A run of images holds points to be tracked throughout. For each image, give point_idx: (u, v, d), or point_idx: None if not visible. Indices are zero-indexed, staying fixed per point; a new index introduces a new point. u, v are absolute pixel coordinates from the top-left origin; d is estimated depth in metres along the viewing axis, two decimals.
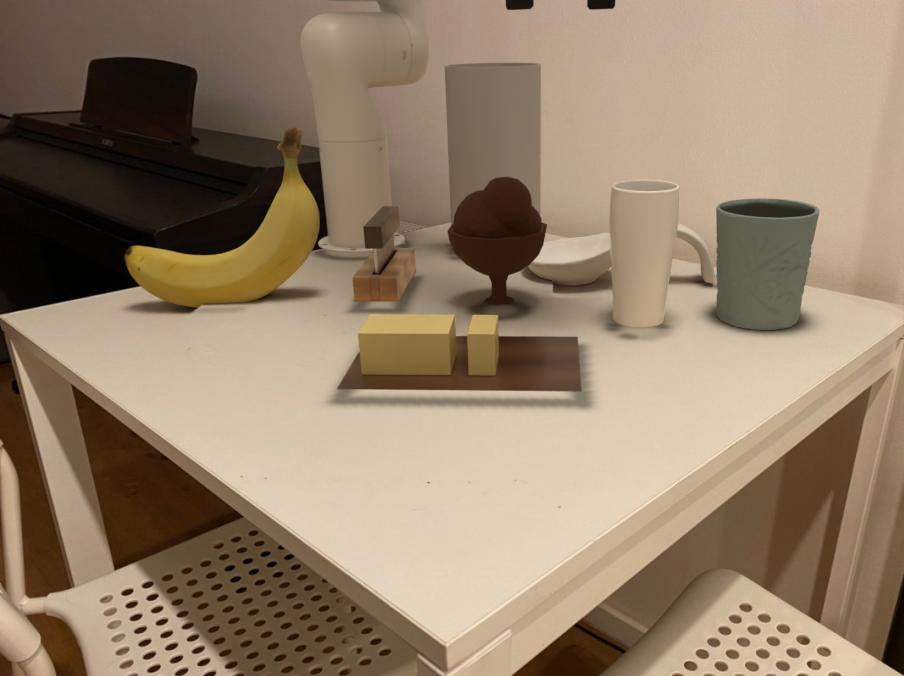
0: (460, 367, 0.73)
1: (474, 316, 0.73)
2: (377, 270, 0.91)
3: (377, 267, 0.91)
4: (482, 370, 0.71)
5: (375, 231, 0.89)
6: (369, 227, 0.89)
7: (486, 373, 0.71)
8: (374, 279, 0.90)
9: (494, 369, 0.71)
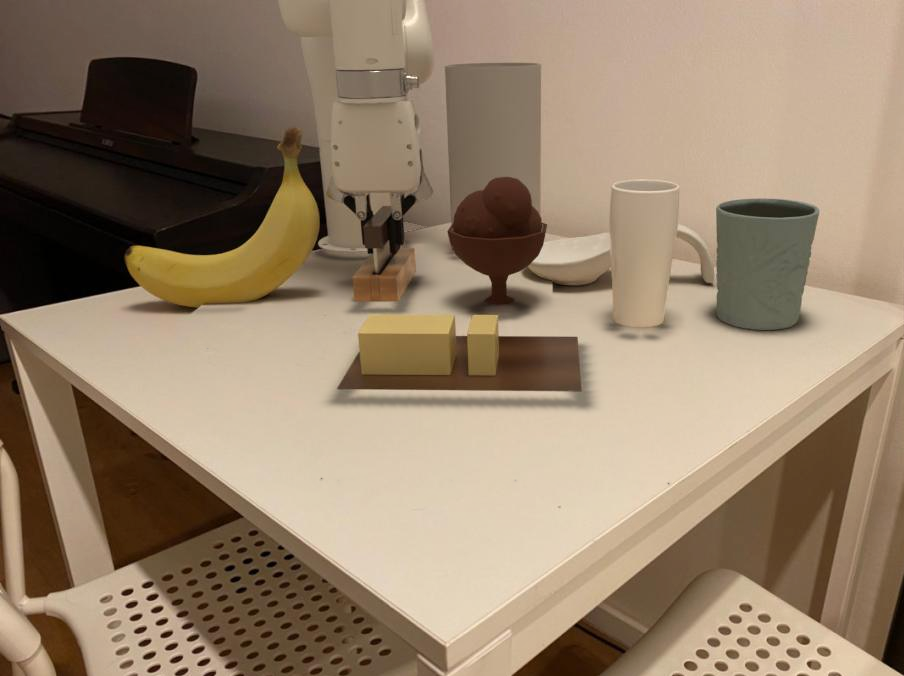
0: (460, 367, 0.73)
1: (474, 316, 0.73)
2: (377, 270, 0.91)
3: (377, 267, 0.91)
4: (482, 370, 0.71)
5: (375, 231, 0.89)
6: (369, 227, 0.89)
7: (486, 373, 0.71)
8: (374, 279, 0.90)
9: (494, 369, 0.71)
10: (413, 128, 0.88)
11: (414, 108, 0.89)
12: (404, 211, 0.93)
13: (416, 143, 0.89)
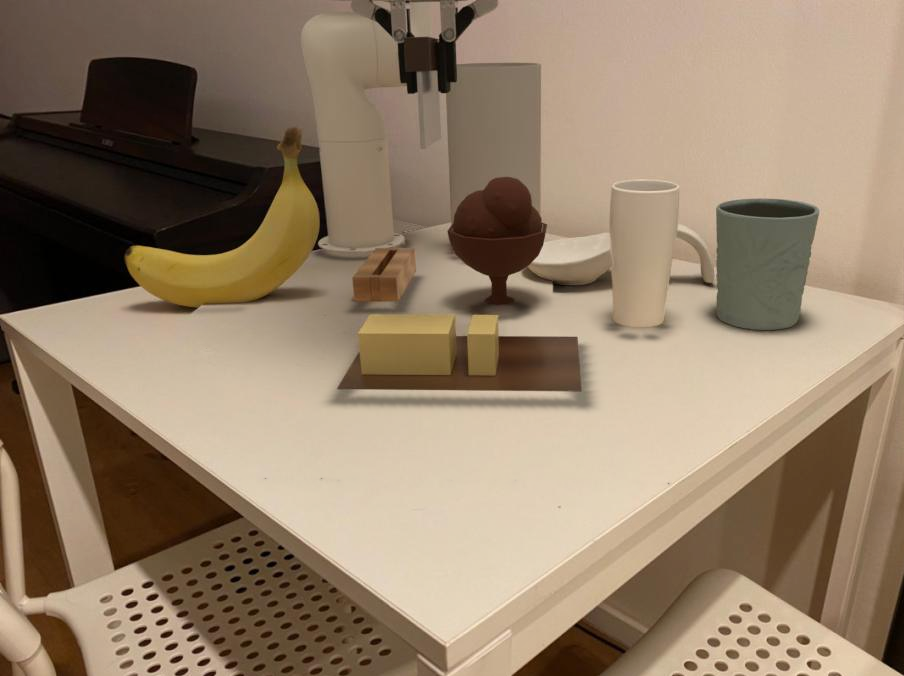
0: (460, 367, 0.73)
1: (474, 316, 0.73)
2: (422, 106, 0.65)
3: (422, 101, 0.65)
4: (482, 370, 0.71)
5: (421, 44, 0.63)
6: (412, 38, 0.63)
7: (486, 373, 0.71)
8: (374, 279, 0.90)
9: (494, 369, 0.71)
10: None
11: None
12: (459, 30, 0.66)
13: None
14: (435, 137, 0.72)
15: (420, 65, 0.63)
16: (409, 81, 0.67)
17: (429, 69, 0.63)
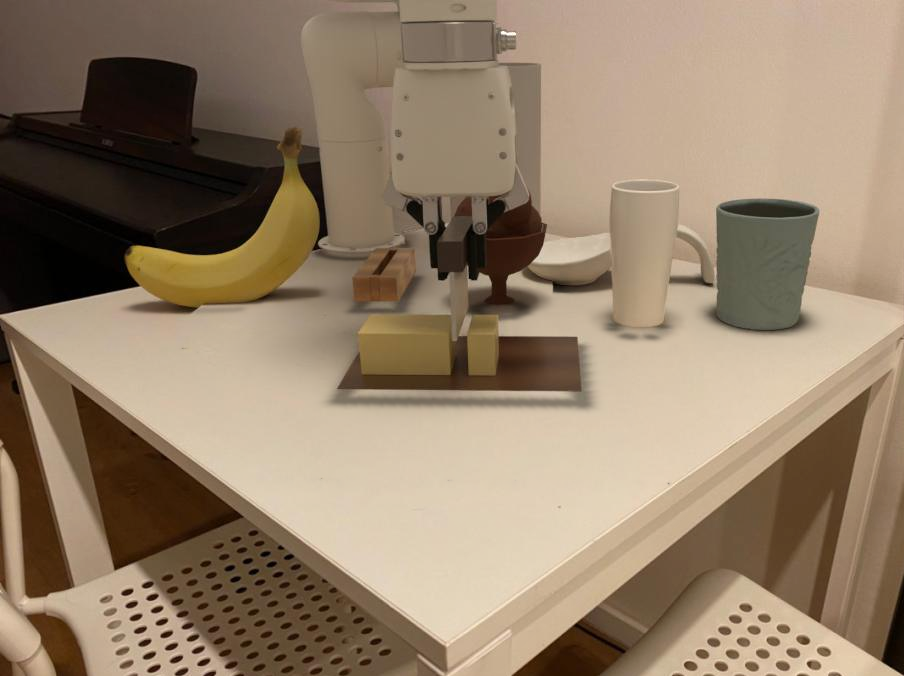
0: (460, 367, 0.73)
1: (474, 316, 0.73)
2: (454, 302, 0.65)
3: (454, 298, 0.65)
4: (482, 370, 0.71)
5: (454, 248, 0.63)
6: (445, 242, 0.63)
7: (486, 373, 0.71)
8: (374, 279, 0.90)
9: (494, 369, 0.71)
10: (508, 106, 0.63)
11: (509, 78, 0.63)
12: (490, 222, 0.67)
13: (511, 127, 0.63)
14: (464, 314, 0.72)
15: (453, 267, 0.64)
16: None
17: (462, 270, 0.64)
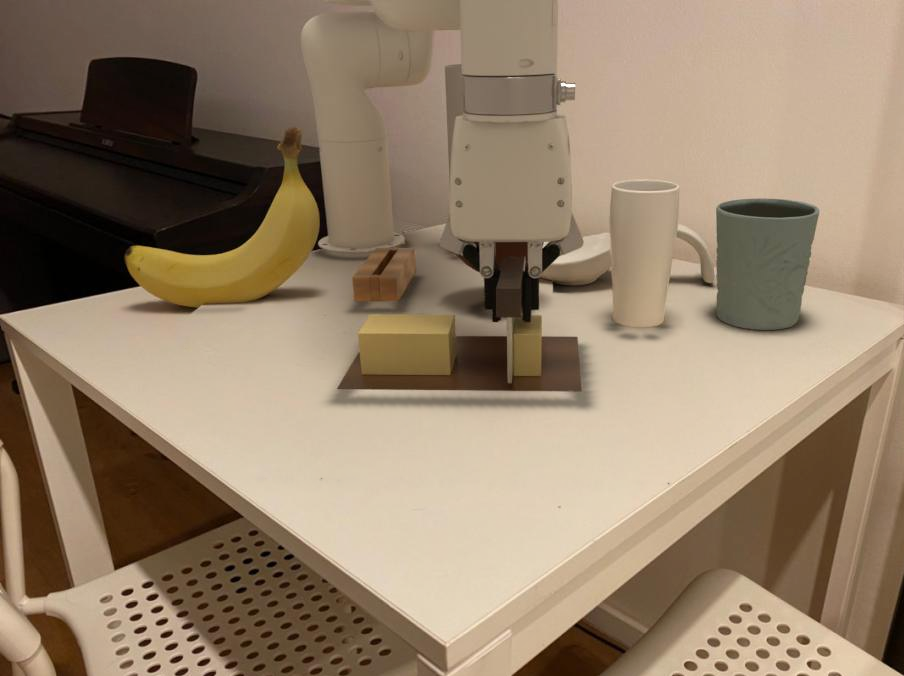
0: (460, 367, 0.73)
1: None
2: (510, 346, 0.67)
3: (510, 342, 0.67)
4: (527, 371, 0.70)
5: (512, 294, 0.65)
6: (504, 289, 0.64)
7: (532, 374, 0.70)
8: (374, 279, 0.90)
9: (540, 370, 0.70)
10: (567, 155, 0.64)
11: (566, 128, 0.65)
12: (544, 266, 0.68)
13: (569, 176, 0.65)
14: None
15: (511, 312, 0.65)
16: (495, 312, 0.69)
17: (520, 316, 0.65)
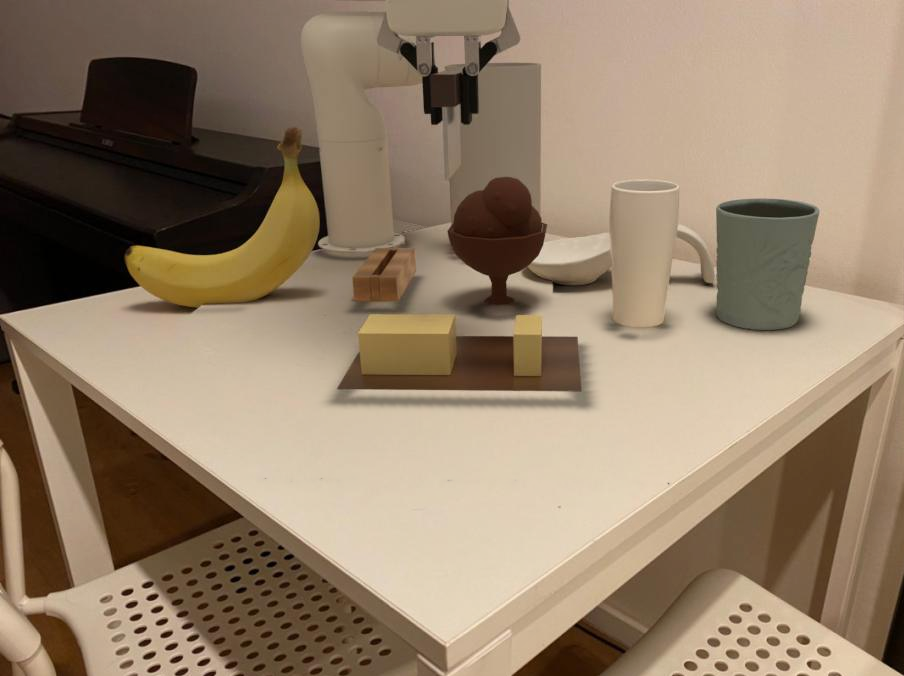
0: (460, 367, 0.73)
1: (518, 317, 0.73)
2: (447, 139, 0.67)
3: (446, 135, 0.67)
4: (528, 371, 0.70)
5: (447, 81, 0.65)
6: (439, 75, 0.65)
7: (532, 374, 0.70)
8: (374, 279, 0.90)
9: (540, 370, 0.70)
10: None
11: None
12: (482, 64, 0.69)
13: None
14: (456, 165, 0.74)
15: (446, 101, 0.65)
16: (433, 113, 0.70)
17: (454, 105, 0.65)
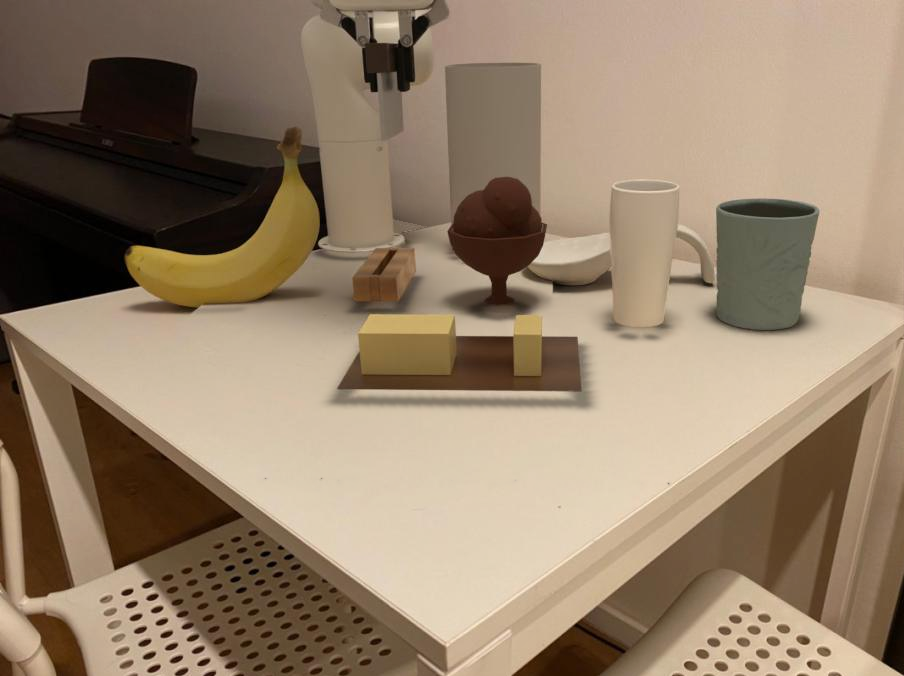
0: (460, 367, 0.73)
1: (518, 317, 0.73)
2: (382, 103, 0.74)
3: (382, 99, 0.74)
4: (528, 371, 0.70)
5: (380, 49, 0.72)
6: (372, 44, 0.72)
7: (532, 374, 0.70)
8: (374, 279, 0.90)
9: (540, 370, 0.70)
10: None
11: None
12: (415, 36, 0.76)
13: None
14: (397, 130, 0.81)
15: (379, 67, 0.72)
16: (372, 81, 0.77)
17: (387, 71, 0.73)
